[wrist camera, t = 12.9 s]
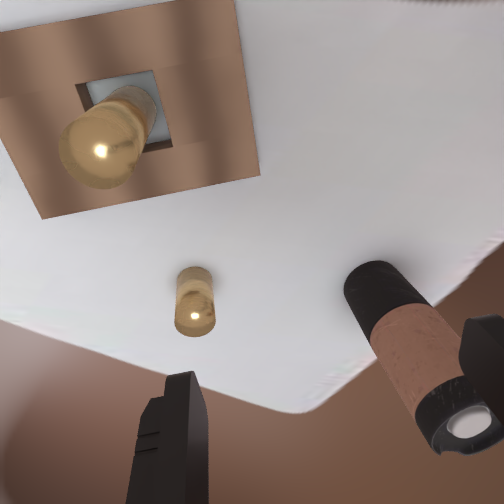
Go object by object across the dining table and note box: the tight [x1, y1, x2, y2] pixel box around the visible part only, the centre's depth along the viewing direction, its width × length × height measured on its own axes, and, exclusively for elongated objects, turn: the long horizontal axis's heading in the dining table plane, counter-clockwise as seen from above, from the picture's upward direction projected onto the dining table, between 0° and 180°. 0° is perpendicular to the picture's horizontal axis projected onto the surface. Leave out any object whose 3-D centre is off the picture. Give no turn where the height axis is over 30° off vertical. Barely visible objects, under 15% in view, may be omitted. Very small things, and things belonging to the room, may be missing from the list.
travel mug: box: [344, 261, 504, 456], centre depth 37 cm, size 8×8×20 cm
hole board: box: [0, 0, 260, 220], centre depth 31 cm, size 20×14×3 cm
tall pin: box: [59, 86, 156, 189], centre depth 26 cm, size 4×4×14 cm
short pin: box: [175, 267, 216, 337], centre depth 39 cm, size 4×4×7 cm
